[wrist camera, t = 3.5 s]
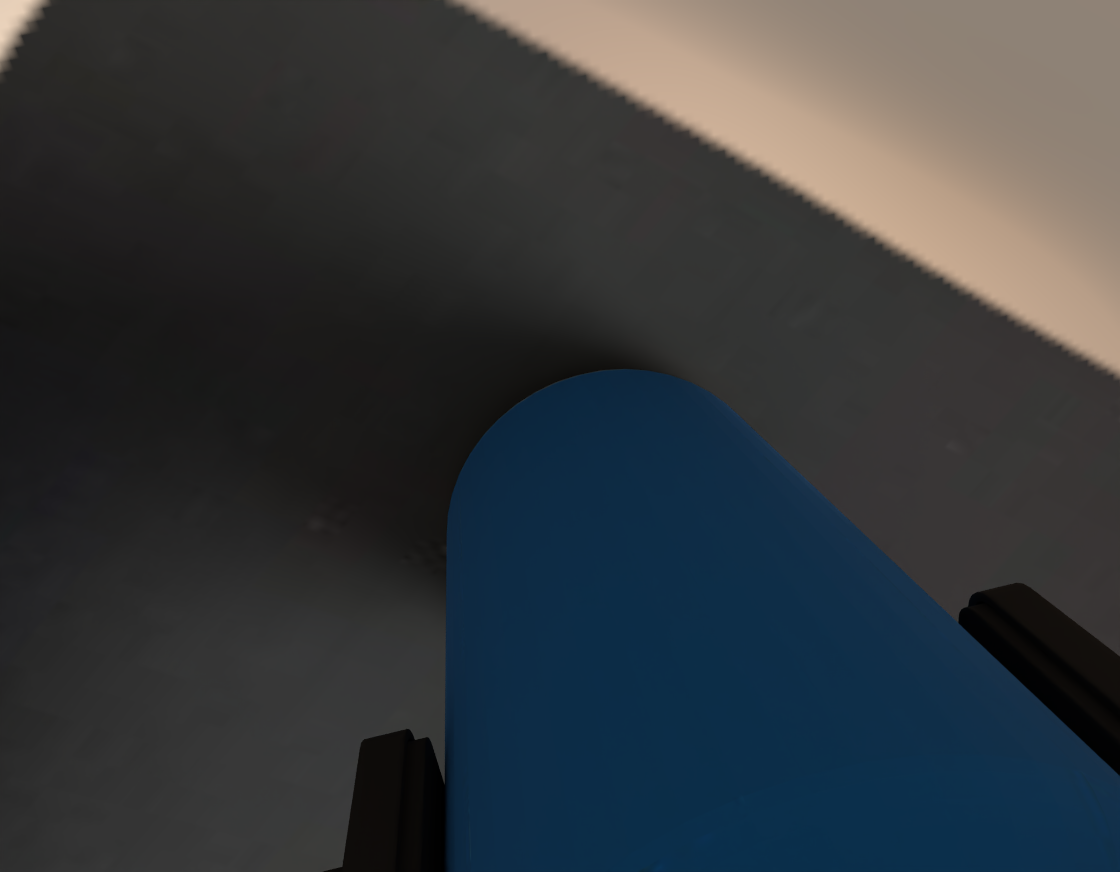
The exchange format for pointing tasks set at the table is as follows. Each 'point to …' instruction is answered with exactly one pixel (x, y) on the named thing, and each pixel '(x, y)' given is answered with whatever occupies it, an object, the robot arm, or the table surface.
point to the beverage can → (721, 668)
